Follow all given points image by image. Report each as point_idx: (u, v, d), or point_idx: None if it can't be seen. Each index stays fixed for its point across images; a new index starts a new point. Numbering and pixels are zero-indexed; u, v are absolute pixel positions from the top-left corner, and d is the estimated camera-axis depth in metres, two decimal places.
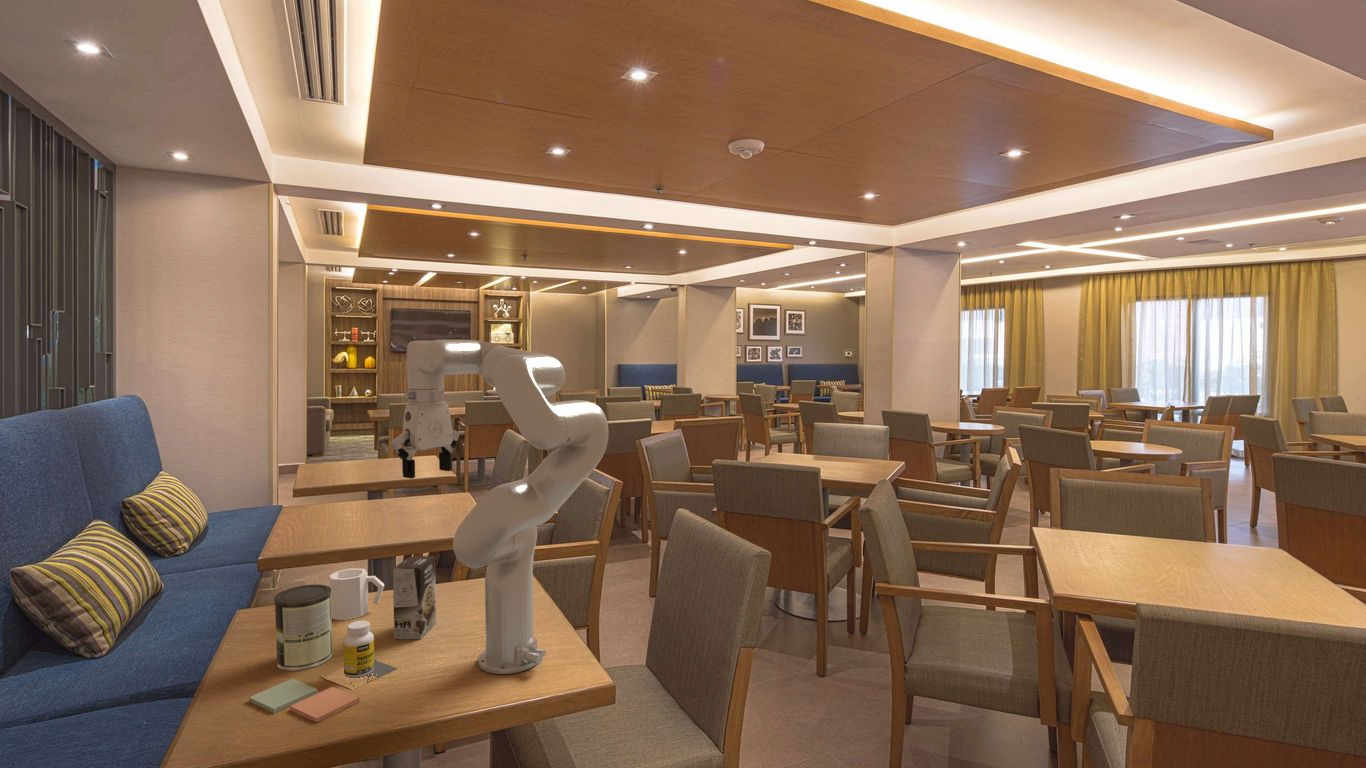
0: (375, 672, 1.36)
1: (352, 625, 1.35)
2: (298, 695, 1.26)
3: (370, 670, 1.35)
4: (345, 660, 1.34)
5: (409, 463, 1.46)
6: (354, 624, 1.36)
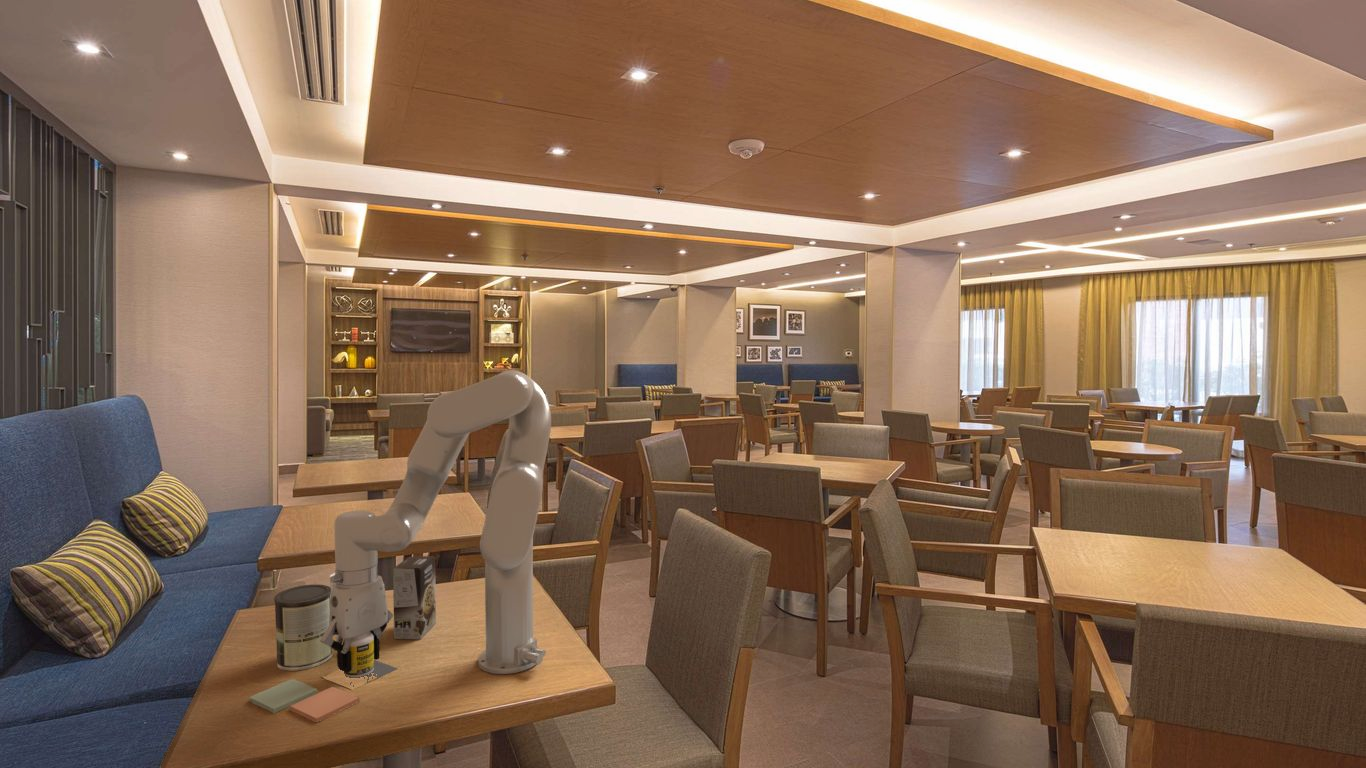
0: (375, 672, 1.36)
1: None
2: (298, 695, 1.26)
3: (370, 670, 1.35)
4: None
5: (344, 656, 1.32)
6: None
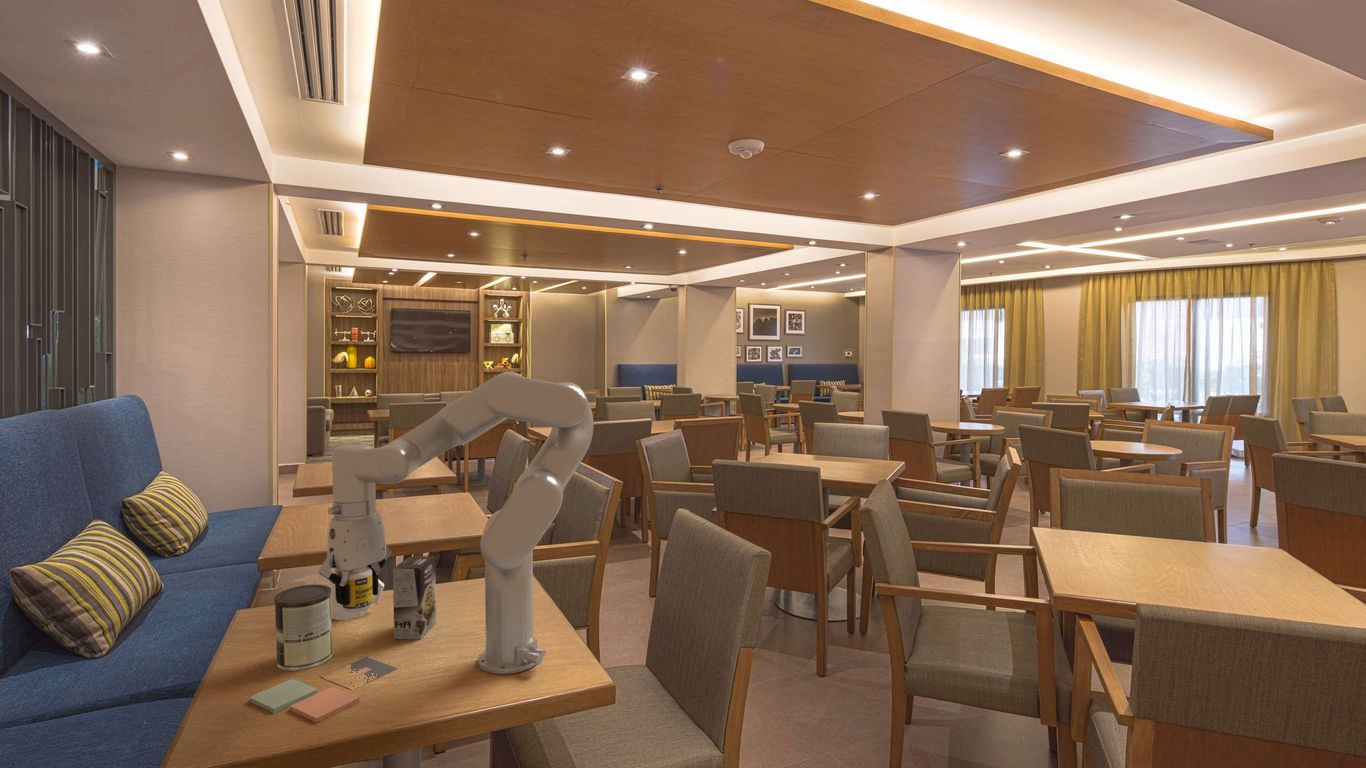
0: (375, 672, 1.36)
1: None
2: (298, 695, 1.26)
3: (369, 604, 1.34)
4: None
5: (343, 589, 1.31)
6: None
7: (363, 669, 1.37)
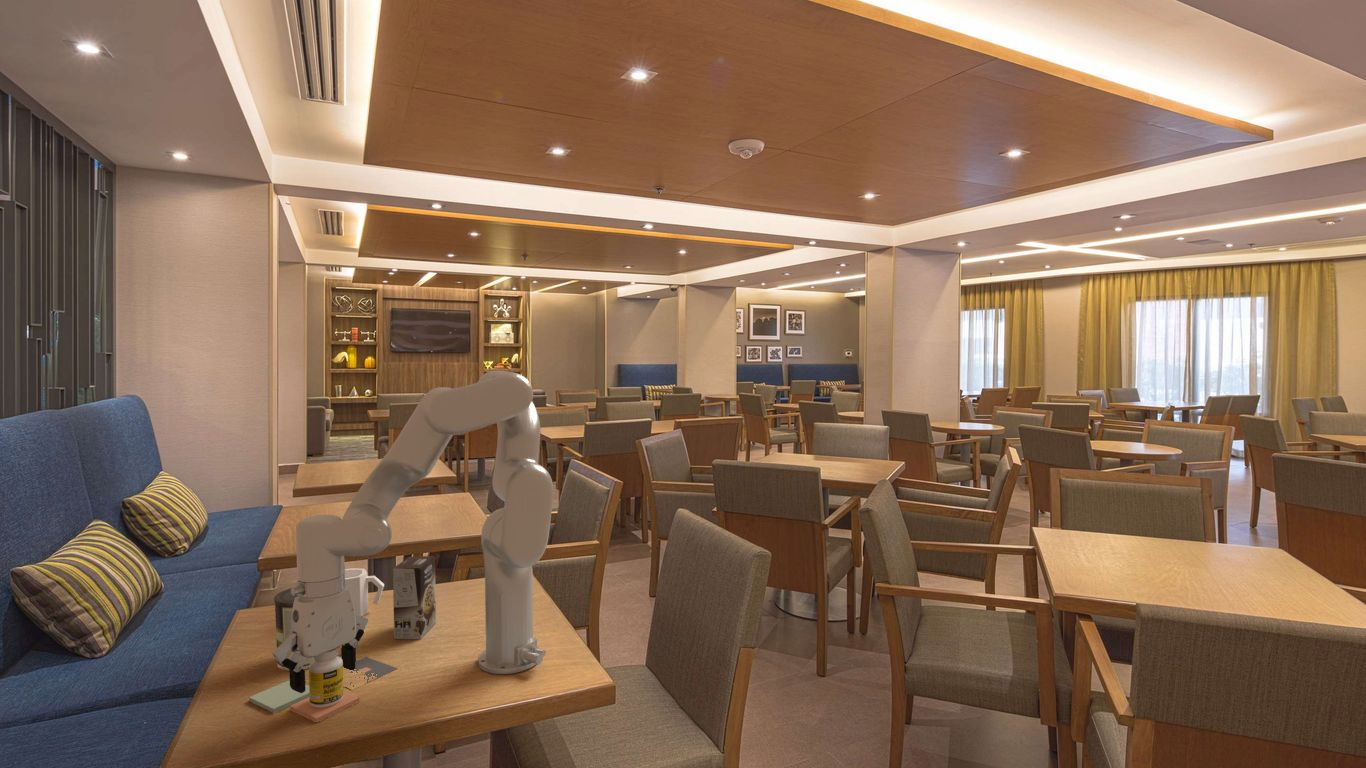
0: (375, 672, 1.36)
1: None
2: (298, 695, 1.26)
3: (338, 698, 1.23)
4: (310, 688, 1.21)
5: (297, 674, 1.18)
6: None
7: (363, 669, 1.37)
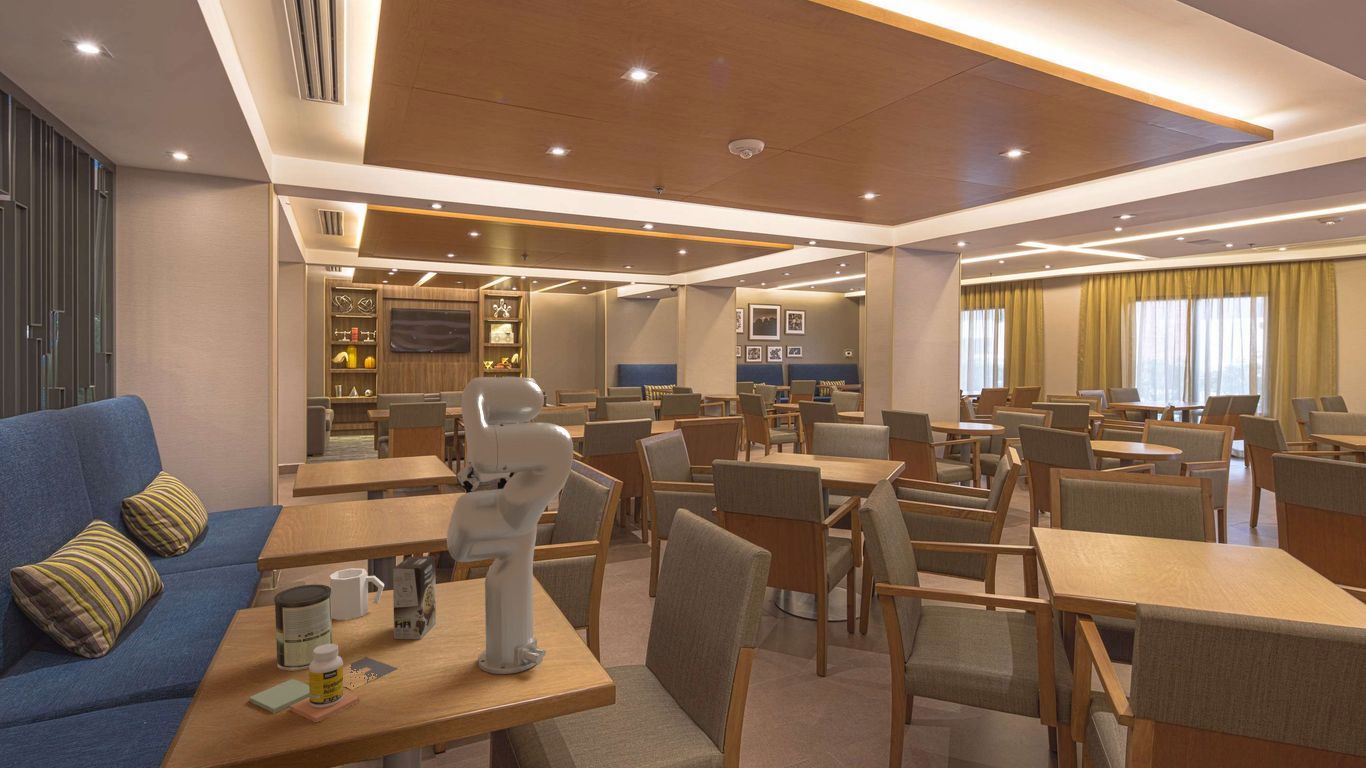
0: (375, 672, 1.36)
1: (318, 649, 1.23)
2: (298, 695, 1.26)
3: (338, 698, 1.23)
4: (310, 688, 1.21)
5: None
6: (320, 648, 1.23)
7: (363, 669, 1.37)
